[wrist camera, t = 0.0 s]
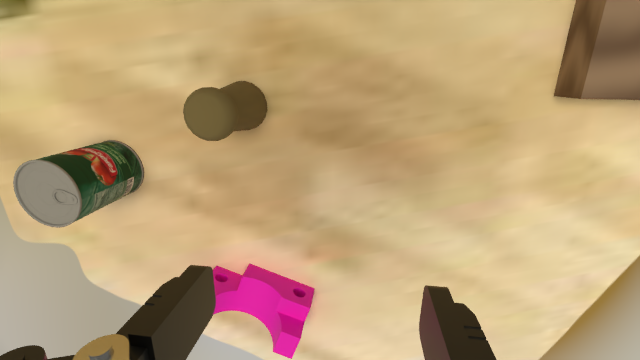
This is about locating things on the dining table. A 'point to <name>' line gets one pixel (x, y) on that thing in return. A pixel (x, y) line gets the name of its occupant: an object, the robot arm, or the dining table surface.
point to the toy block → (266, 302)
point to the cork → (224, 110)
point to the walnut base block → (602, 51)
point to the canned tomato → (77, 182)
